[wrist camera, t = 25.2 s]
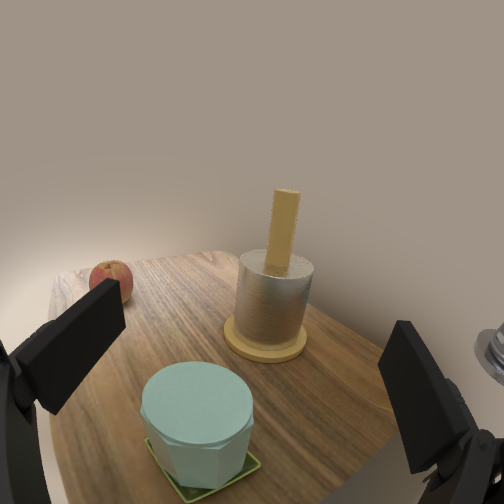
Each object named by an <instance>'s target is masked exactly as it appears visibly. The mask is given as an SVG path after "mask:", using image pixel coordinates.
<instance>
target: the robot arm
mask: <svg viewBox="0 0 504 504" xmlns="http://www.w3.org/2000/svg"><path fill="white" fill-rule="evenodd" d="M125 328H126V324H125V318H124V312H123V305H122V297H121V289H120V281H119V280H115V279H111V278H106V279H105V280H103V281H102V282H101V283H100V284H98V285H97V286H96V287H94V288H93V289H92V290H91V291H89V292H88V293H87V294H86V295H84V296H83V297H82V298H81V299H79V300H78V301H77V302H76V303H75V304H73V305H72V306H71V307H70V308H69V309H67V310H66V311H65V312H64V313H63V314H61V315H60V316H59V317H58V318H57V319H56V320H52V321H49V322H47V323H45V324H43V325H42V326H41V327H40V328H39V329H37V330H36V332H34V333H33V334H32V335H31V336H30V338H27V339H26V340H25V341H24V342H23V343H22V344H21V345H19V346H18V347H17V348H16V349H15V350H14V351H13V352H12V353H11V354H10V355H7V353H6V351H5V349H4V346H3V344H2V342H1V340H0V504H51V500H50V497H49V493H48V489H47V485H46V480H45V476H44V471H43V466H42V460H41V454H40V447H39V439H38V429H37V417H36V407H35V404H34V401H35V400H36V399H38V401H39V403H40V404H41V406H42V407H43V408H44V409H46V410H47V411H49V412H50V413H52V414H53V415H55V416H56V415H57V413H58V412H59V411H60V409H61V408H62V407H63V405H64V404H65V403H66V401H67V400H68V399H69V397H70V396H71V395H72V393H73V392H74V391H75V389H76V388H77V387H78V386H79V384H80V383H81V382H82V380H83V379H84V378H85V377H86V375H87V374H88V373H89V372H90V370H91V369H92V368H93V367H94V365H95V364H96V363H97V362H98V360H99V359H100V358H101V357H102V355H103V354H104V353H105V352H106V350H107V349H108V348H109V347H110V346H111V344H112V343H113V342H114V341H115V340H116V338H117V337H118V336H119V335H120V334H121V332H122V331H123V330H124V329H125ZM489 344H490V349H491V351H492V353H493V354H494V356H495V357H496V358H497V359H498V361H499V362H500V363H502V364H503V365H504V323H503V324H502V325H501V326H500V327H499V328H498V330H497V331H496V332H495V333H494V334H493V336H492V338H491V340H490V343H489ZM378 367H379V370H380V373H381V375H382V378H383V381H384V384H385V387H386V390H387V393H388V396H389V399H390V402H391V405H392V408H393V411H394V414H395V417H396V421H397V424H398V427H399V431H400V434H401V437H402V441H403V444H404V448H405V452H406V456H407V460H408V463H409V467H410V472H411V474H415V473H419V472H423V471H427V470H428V469H429V468H430V467H432V466H433V465H434V464H435V463H436V464H437V467H438V468H437V469H436V470H435V471H433V472H432V473H431V474H430V475H429V476H427V477H426V478H425V479H424V480H423V483H424V482H426V481H427V480H428V479H430V478H431V479H430V481H429V483H428V484H427V487H426V489H425V491H424V493H423V495H422V497H421V498H420V500H419V502H418V504H504V438H502V439H500V438H497V439H496V438H495V437H494V436H493V434H492V433H491V432H489V431H488V430H484V429H481V430H479V429H478V427H477V425H476V423H475V420H474V418H473V416H472V414H471V412H470V410H469V409H468V407H467V405H466V404H465V401H464V399H463V397H461V393H460V392H459V390H458V388H457V386H456V385H455V384H454V383H453V382H452V381H451V380H450V379H449V378H447V379H445V378H444V376H443V374H442V372H441V371H440V369H439V367H438V365H437V364H436V362H435V360H434V359H433V357H432V355H431V354H430V352H429V350H428V348H427V347H426V345H425V344H424V342H423V341H422V339H421V337H420V336H419V334H418V332H417V331H416V329H415V328H414V326H413V325H412V323H411V322H410V321H402V320H397V322H396V324H395V326H394V329H393V331H392V334H391V336H390V339H389V341H388V343H387V345H386V347H385V350H384V352H383V354H382V356H381V358H380V360H379V362H378ZM500 474H501V480H500V481H498V482H497V483H495V478H496V477H497V476H499V475H500Z"/></svg>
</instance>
